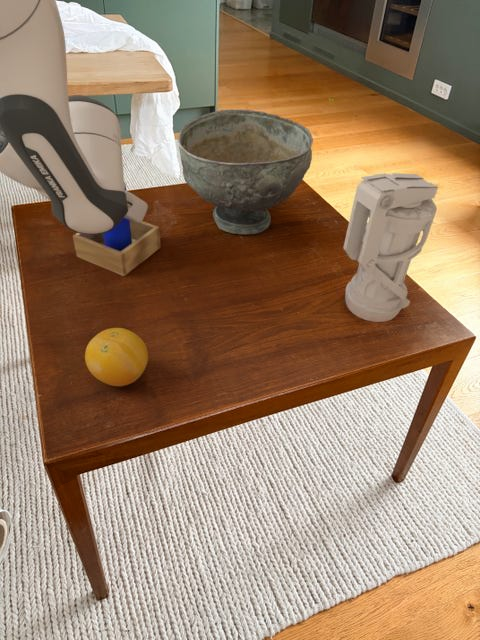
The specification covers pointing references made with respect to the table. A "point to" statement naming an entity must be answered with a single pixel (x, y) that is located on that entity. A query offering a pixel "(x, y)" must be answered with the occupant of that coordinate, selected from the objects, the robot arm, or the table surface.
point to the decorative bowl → (244, 164)
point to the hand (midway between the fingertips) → (116, 208)
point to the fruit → (116, 356)
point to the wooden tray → (114, 260)
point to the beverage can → (119, 235)
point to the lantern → (386, 241)
